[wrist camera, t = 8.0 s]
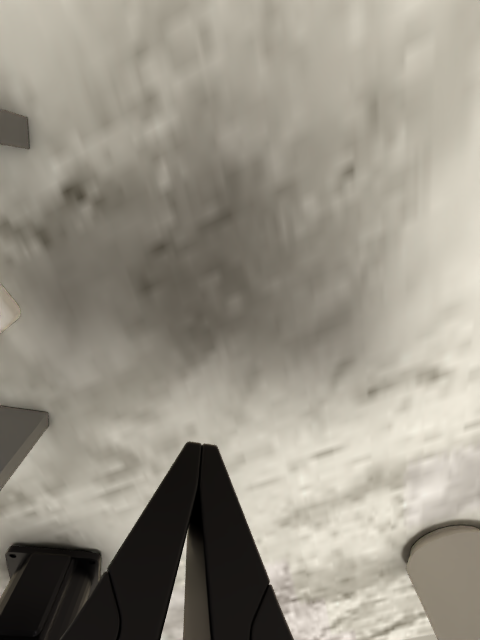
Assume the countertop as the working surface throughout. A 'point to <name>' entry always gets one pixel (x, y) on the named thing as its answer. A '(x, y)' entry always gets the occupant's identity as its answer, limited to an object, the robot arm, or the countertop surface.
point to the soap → (7, 309)
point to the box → (6, 422)
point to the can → (449, 580)
